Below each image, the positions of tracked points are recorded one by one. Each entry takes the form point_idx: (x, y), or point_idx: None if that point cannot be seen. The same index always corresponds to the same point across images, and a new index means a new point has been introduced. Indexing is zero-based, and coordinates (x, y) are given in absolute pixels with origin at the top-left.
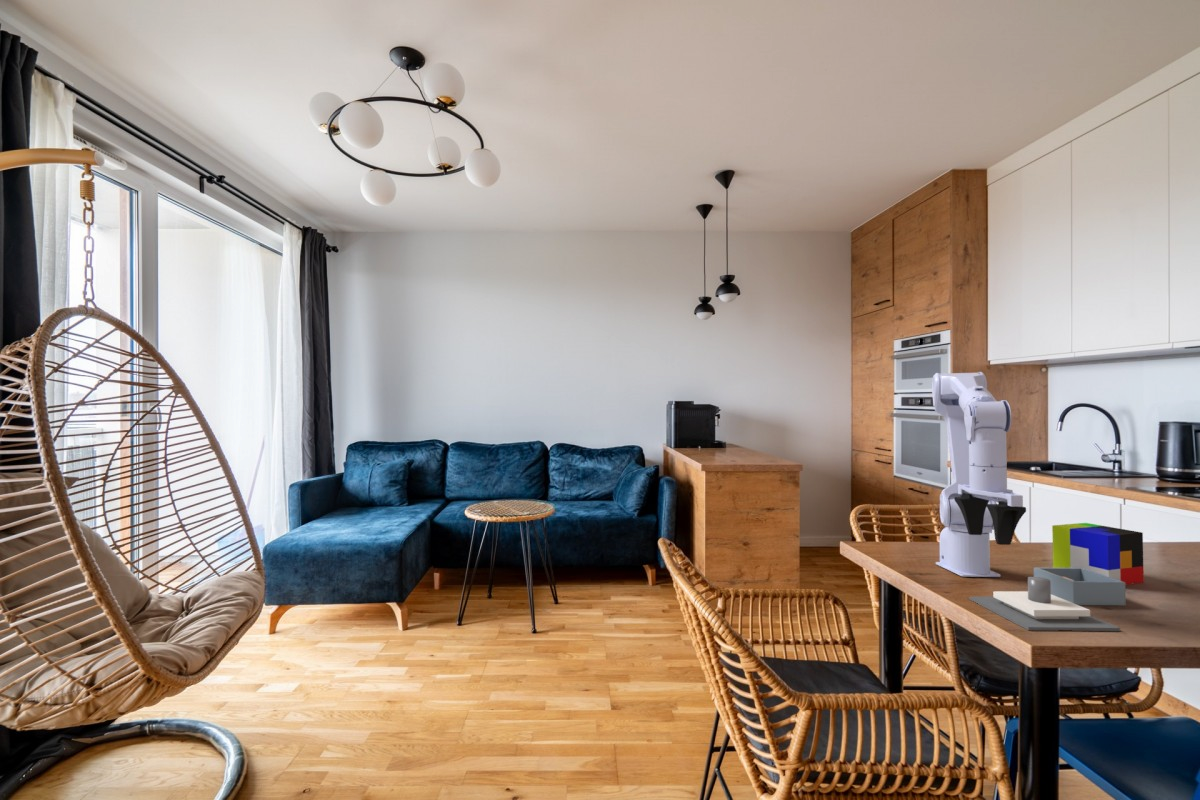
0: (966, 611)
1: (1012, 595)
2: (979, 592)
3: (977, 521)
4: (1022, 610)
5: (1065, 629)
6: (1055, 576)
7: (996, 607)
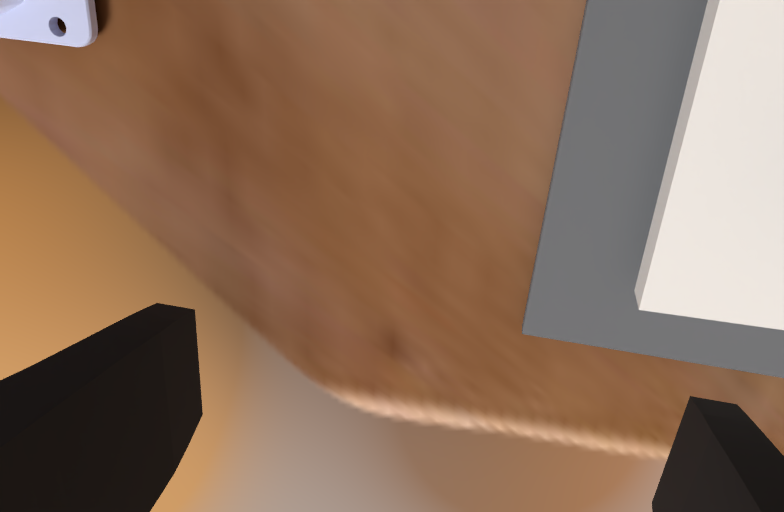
0: None
1: (743, 258)
2: (408, 171)
3: (93, 462)
4: None
5: None
6: None
7: (721, 336)
